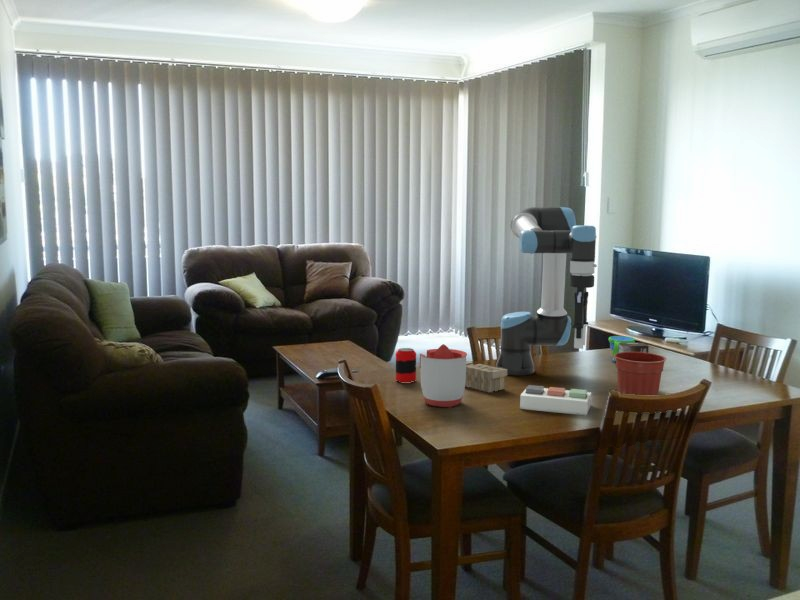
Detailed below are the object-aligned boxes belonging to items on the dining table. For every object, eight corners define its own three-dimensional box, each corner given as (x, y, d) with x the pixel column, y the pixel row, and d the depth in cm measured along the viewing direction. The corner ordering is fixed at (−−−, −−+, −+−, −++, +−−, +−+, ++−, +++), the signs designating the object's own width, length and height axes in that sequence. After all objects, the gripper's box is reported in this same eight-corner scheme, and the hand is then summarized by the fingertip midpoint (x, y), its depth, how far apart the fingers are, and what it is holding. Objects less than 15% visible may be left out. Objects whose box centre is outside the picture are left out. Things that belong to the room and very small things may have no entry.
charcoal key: (525, 397, 245) (525, 388, 245) (528, 393, 250) (528, 385, 250) (540, 398, 244) (541, 389, 243) (543, 395, 248) (543, 386, 248)
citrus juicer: (426, 394, 261) (426, 337, 258) (473, 400, 253) (473, 342, 251) (407, 405, 247) (407, 345, 244) (456, 411, 239) (457, 350, 237)
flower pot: (672, 403, 249) (675, 356, 247) (649, 413, 238) (651, 364, 236) (627, 394, 261) (629, 349, 259) (602, 403, 249) (604, 356, 247)
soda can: (420, 380, 280) (420, 349, 278) (406, 384, 274) (406, 352, 273) (405, 377, 285) (405, 346, 283) (391, 381, 279) (391, 349, 278)
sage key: (568, 401, 241) (569, 392, 240) (571, 397, 245) (571, 388, 245) (584, 403, 239) (585, 393, 238) (586, 399, 244) (586, 390, 243)
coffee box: (642, 385, 274) (644, 342, 272) (647, 389, 267) (649, 345, 265) (617, 385, 274) (619, 342, 272) (621, 389, 268) (623, 345, 266)
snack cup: (625, 366, 304) (626, 342, 302) (601, 363, 310) (602, 339, 309) (640, 360, 316) (641, 336, 315) (616, 357, 322) (617, 334, 321)
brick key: (547, 399, 243) (547, 390, 243) (549, 395, 248) (549, 386, 247) (562, 400, 241) (562, 391, 241) (564, 397, 246) (565, 388, 246)
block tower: (434, 381, 283) (493, 394, 262) (433, 359, 282) (492, 370, 261) (448, 378, 289) (507, 390, 267) (448, 356, 288) (507, 367, 266)
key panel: (520, 408, 243) (520, 395, 242) (527, 399, 254) (527, 386, 254) (586, 415, 236) (587, 401, 235) (590, 405, 247) (591, 392, 246)
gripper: (591, 277, 227) (588, 352, 230) (597, 272, 244) (594, 342, 247) (566, 276, 229) (563, 351, 232) (573, 271, 246) (571, 340, 249)
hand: (579, 346), depth 240 cm, fingers open, 5 cm apart
